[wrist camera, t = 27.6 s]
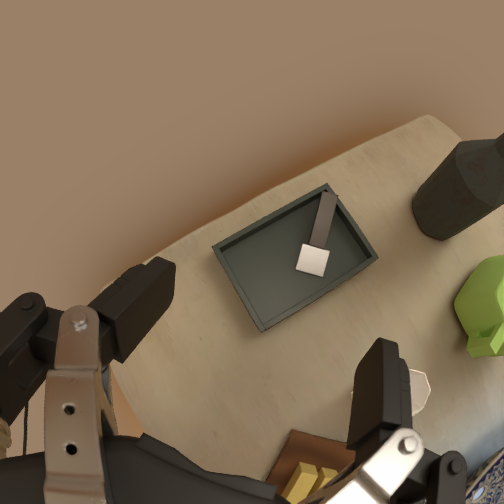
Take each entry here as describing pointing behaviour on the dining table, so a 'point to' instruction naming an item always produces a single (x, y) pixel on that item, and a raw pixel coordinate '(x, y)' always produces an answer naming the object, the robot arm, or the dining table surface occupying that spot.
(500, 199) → the bottle
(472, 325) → the teapot
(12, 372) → the robot arm
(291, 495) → the butter
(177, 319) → the dining table surface
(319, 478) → the butter
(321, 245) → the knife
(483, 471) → the ceramic bowl
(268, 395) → the dining table surface
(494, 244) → the dining table surface
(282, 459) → the board
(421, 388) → the cup
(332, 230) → the tray
